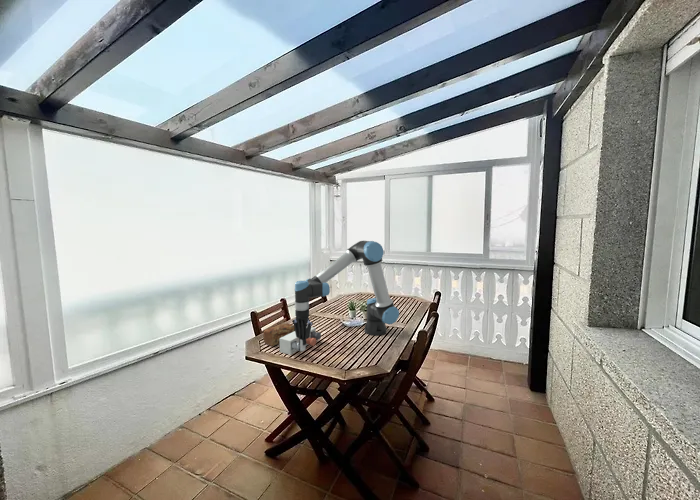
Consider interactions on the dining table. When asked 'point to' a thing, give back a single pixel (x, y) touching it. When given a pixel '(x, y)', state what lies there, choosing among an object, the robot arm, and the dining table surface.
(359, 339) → the dining table surface
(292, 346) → the steel plug
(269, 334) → the bread
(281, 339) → the socket block
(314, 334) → the grey plug
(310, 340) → the red plug
